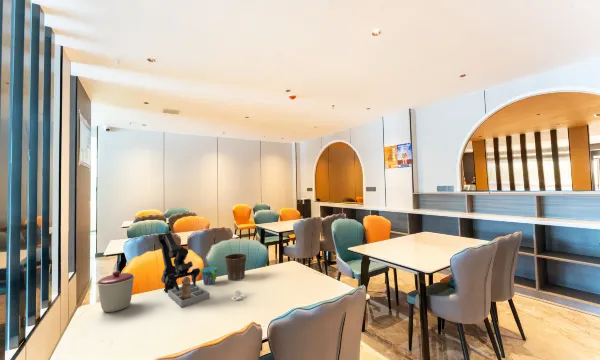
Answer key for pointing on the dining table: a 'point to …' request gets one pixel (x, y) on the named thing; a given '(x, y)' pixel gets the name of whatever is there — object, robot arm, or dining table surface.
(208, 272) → the snack cup
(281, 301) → the dining table surface
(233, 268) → the plant pot
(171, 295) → the tray
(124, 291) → the canister
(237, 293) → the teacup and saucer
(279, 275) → the dining table surface
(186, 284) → the skittle
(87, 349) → the dining table surface
